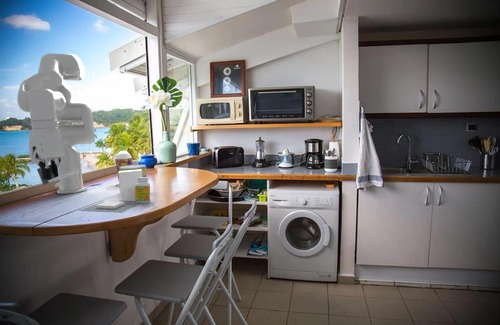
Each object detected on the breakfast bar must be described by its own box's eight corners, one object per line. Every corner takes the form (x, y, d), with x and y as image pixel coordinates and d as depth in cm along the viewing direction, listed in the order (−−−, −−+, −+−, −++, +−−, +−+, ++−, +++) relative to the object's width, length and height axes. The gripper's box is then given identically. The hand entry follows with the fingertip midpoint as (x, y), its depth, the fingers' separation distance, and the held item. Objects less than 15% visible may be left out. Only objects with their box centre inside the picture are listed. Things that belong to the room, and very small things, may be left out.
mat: (78, 212, 114) (77, 210, 114) (103, 203, 127) (102, 201, 126) (121, 214, 110) (121, 212, 110) (143, 204, 122) (142, 202, 122)
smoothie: (117, 182, 170) (113, 145, 167) (133, 181, 173) (130, 144, 171) (117, 185, 162) (113, 146, 160) (134, 183, 166) (131, 145, 163)
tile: (95, 205, 116) (114, 205, 114) (106, 201, 122) (125, 201, 120) (96, 208, 116) (114, 209, 114) (107, 204, 122) (125, 204, 120)
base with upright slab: (121, 203, 125) (118, 173, 123) (120, 198, 133) (117, 170, 131) (145, 200, 128) (142, 171, 127) (143, 196, 136) (140, 168, 135)
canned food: (151, 189, 149) (150, 164, 147) (141, 195, 138) (139, 168, 136) (128, 190, 150) (126, 165, 148) (116, 195, 139) (114, 168, 137)
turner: (40, 185, 110) (33, 169, 109) (52, 183, 114) (46, 167, 114) (70, 173, 106) (63, 156, 106) (82, 170, 111) (75, 154, 110)
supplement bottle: (136, 203, 120) (136, 177, 120) (134, 202, 125) (134, 177, 125) (151, 202, 123) (151, 177, 123) (148, 201, 127) (148, 177, 127)
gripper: (55, 125, 118) (60, 174, 120) (13, 126, 102) (21, 183, 104) (72, 125, 116) (77, 174, 118) (32, 125, 100) (39, 183, 103)
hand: (50, 178), depth 111 cm, fingers closed on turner
